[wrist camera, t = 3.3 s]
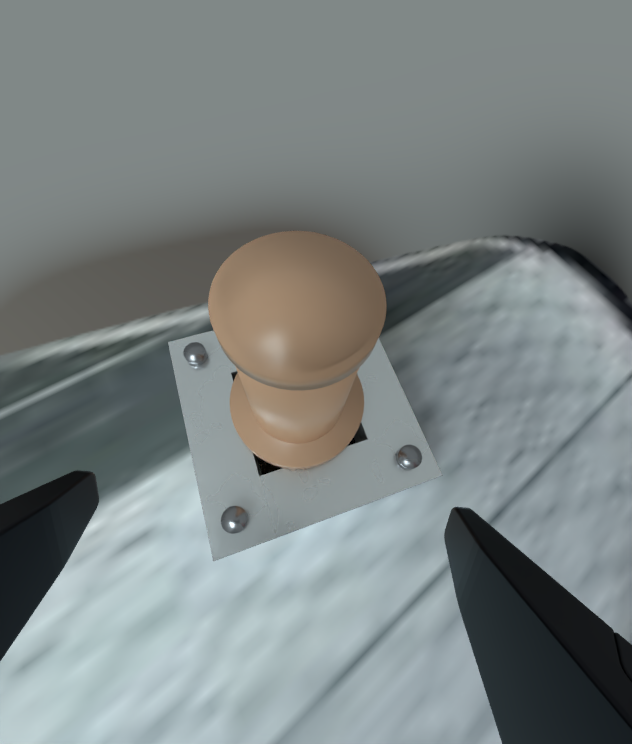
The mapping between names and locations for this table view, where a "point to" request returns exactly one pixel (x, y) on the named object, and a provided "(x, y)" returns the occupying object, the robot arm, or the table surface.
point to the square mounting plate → (291, 486)
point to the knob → (297, 343)
